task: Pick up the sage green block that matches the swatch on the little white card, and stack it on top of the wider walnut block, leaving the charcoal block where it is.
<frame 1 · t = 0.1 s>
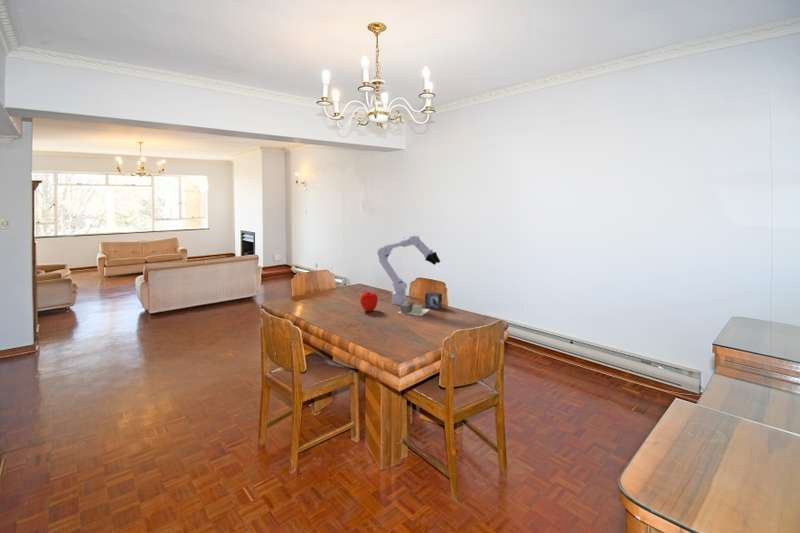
hand: (437, 262, 272), 32 cm above the table, tool tilted 50°, fingers open, 7 cm apart
charcoal block: (405, 312, 267), resting on grey mat
apple: (369, 311, 270), on the table
grey mat: (414, 311, 269), on the table
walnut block: (411, 309, 274), resting on grey mat
sage block: (417, 312, 265), resting on grey mat
picture frame: (433, 308, 279), on the table
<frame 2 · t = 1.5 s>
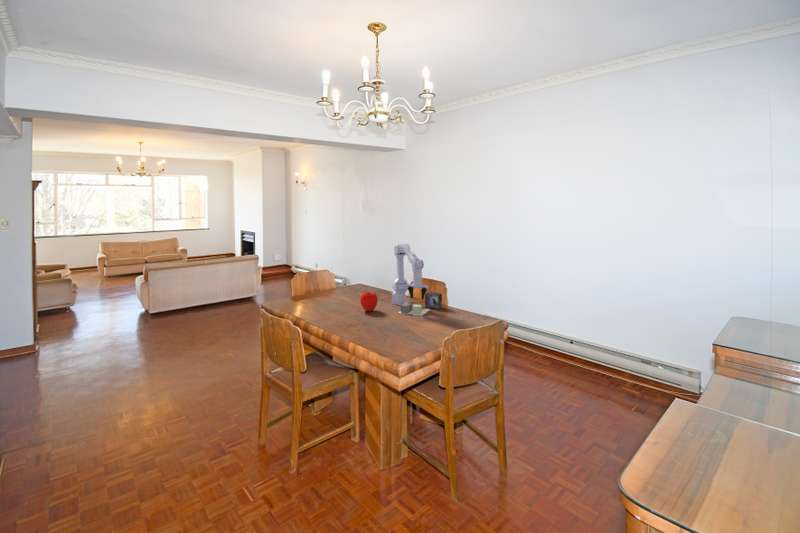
hand: (417, 298, 263), 10 cm above the table, tool pointing down, fingers open, 7 cm apart
nothing on the table moved.
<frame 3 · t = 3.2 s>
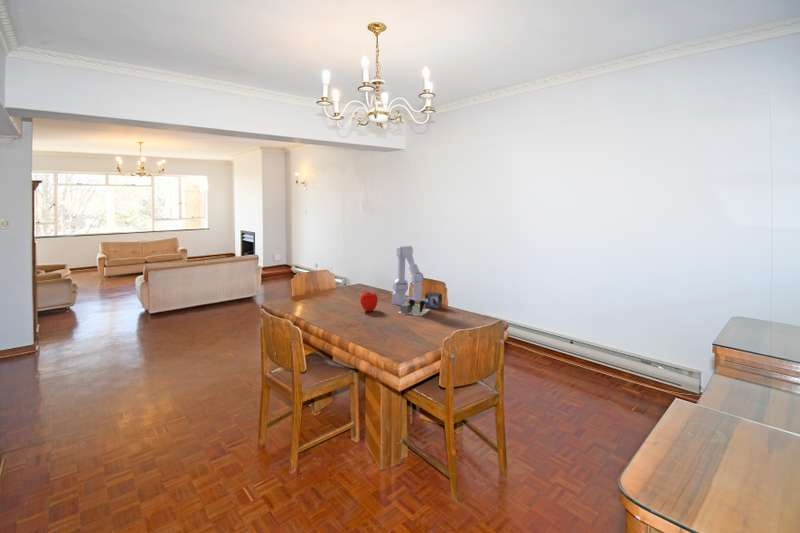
hand: (417, 311, 264), 1 cm above the table, tool pointing down, fingers closed on sage block, 5 cm apart
sage block: (417, 312, 265), resting on grey mat, touching gripper
everything else where it was.
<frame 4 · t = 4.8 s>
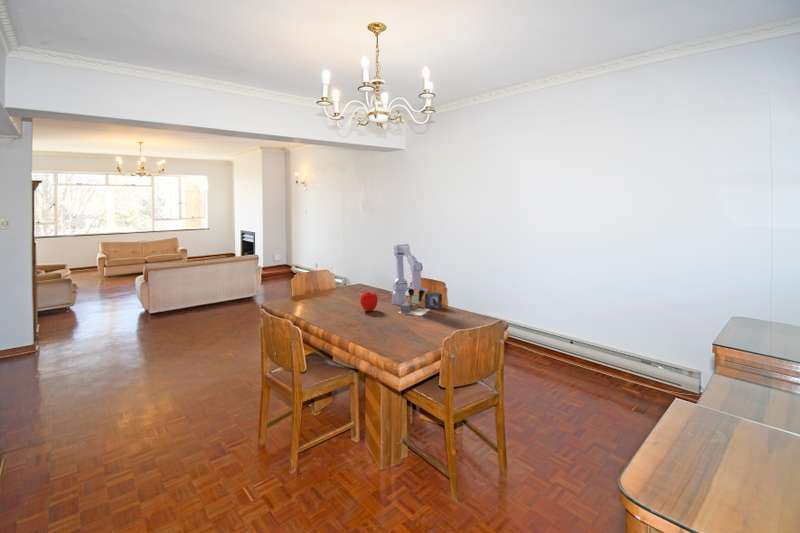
hand: (416, 300, 265), 8 cm above the table, tool pointing down, fingers closed on sage block, 5 cm apart
sage block: (416, 302, 265), point 7 cm above the table, touching gripper
everything else where it was.
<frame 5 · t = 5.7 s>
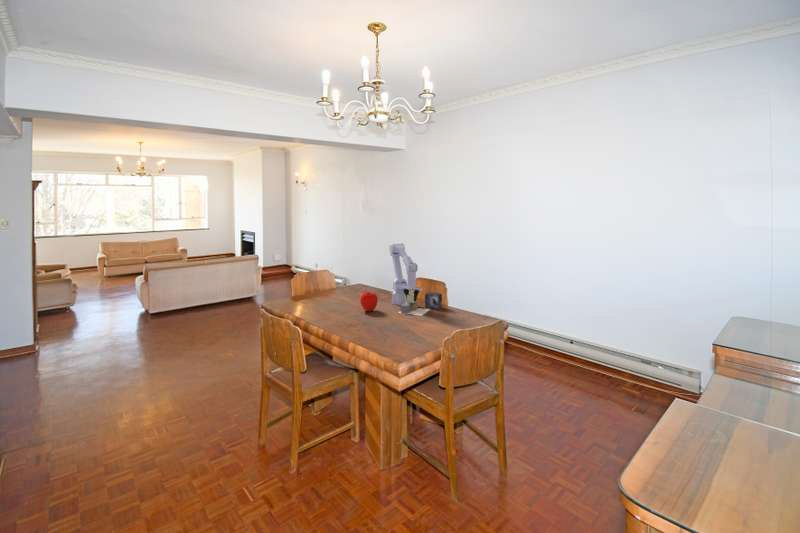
hand: (411, 300, 273), 7 cm above the table, tool pointing down, fingers closed on sage block, 5 cm apart
sage block: (411, 301, 273), point 6 cm above the table, touching gripper
everything else where it was.
when the fingers open (6 cm above the table, at t = 6.2 s): sage block stays where it is, resting on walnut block.
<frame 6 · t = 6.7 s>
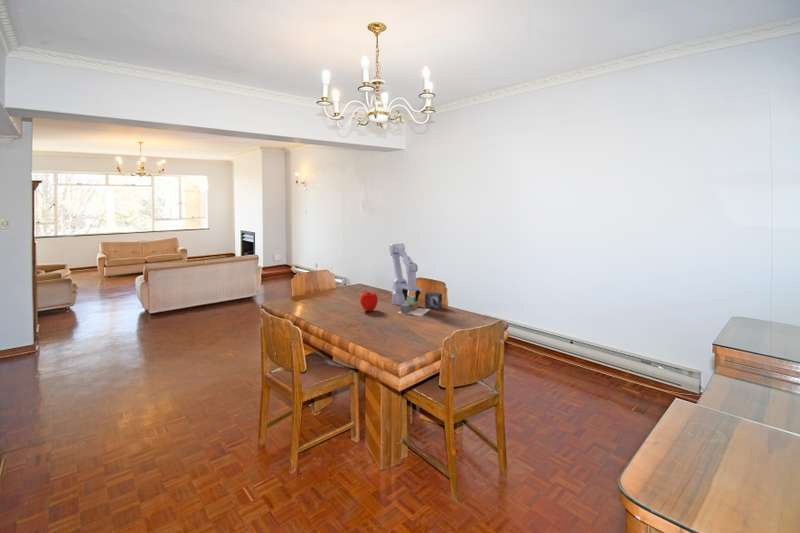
hand: (411, 300, 273), 6 cm above the table, tool pointing down, fingers open, 7 cm apart
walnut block: (411, 309, 274), resting on grey mat, touching sage block
sage block: (411, 303, 273), point 4 cm above the table, touching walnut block
everything else where it was.
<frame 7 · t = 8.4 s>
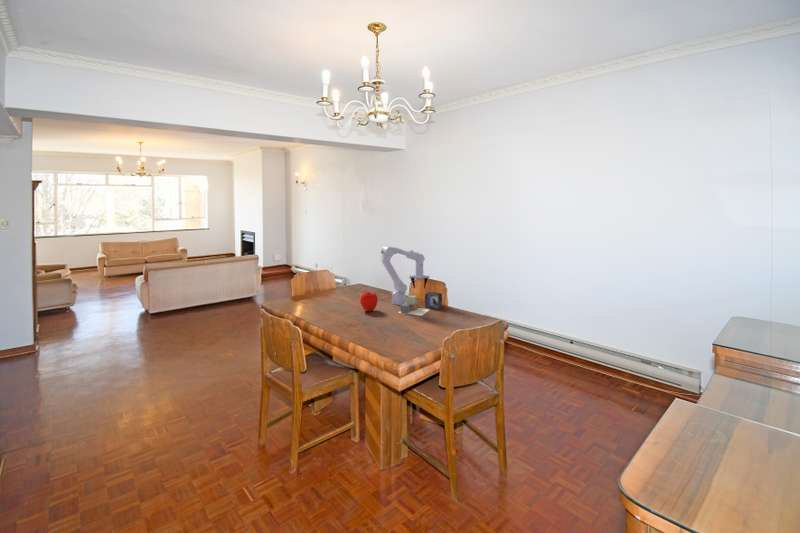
hand: (419, 288, 293), 10 cm above the table, tool pointing down, fingers open, 7 cm apart
nothing on the table moved.
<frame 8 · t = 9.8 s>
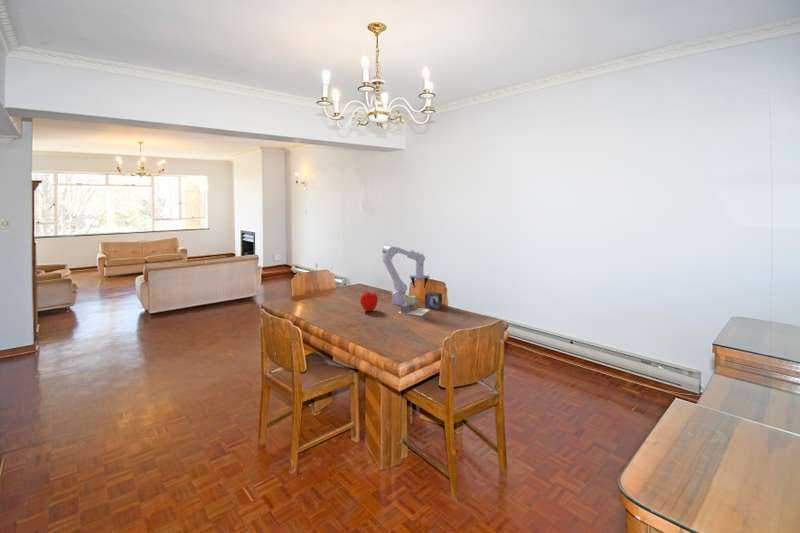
hand: (419, 287, 294), 10 cm above the table, tool pointing down, fingers open, 7 cm apart
nothing on the table moved.
at the end: sage block 0.0 cm off-centre on the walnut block, point 4.0 cm above the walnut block's base; sage block tilted 0°; charcoal block moved 0.0 cm from its start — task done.
